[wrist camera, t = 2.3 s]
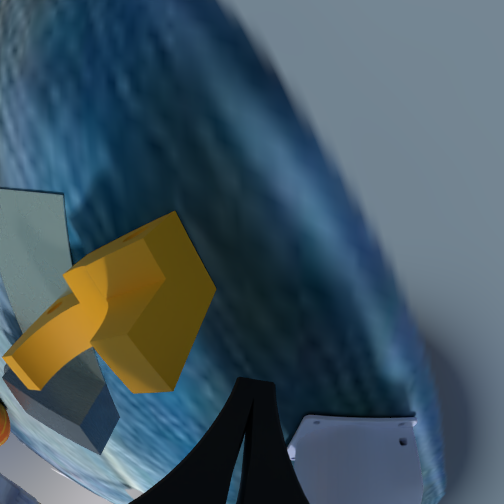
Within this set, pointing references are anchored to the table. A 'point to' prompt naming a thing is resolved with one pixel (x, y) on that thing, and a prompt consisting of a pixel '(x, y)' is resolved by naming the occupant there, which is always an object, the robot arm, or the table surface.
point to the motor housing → (36, 303)
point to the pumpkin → (4, 425)
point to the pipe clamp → (124, 311)
